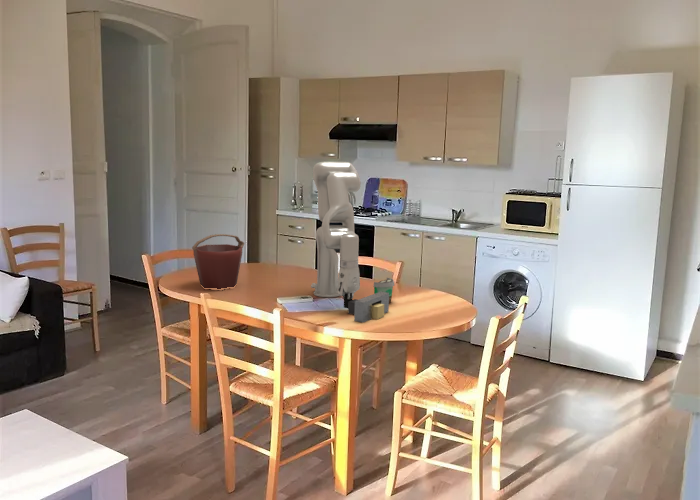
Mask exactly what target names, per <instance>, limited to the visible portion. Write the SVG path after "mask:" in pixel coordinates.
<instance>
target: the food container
mask: <svg viewBox="0 0 700 500" xmlns="http://www.w3.org/2000/svg"><path fill="white" fill-rule="evenodd" d="M372 286H373V288H374V289H373V294H375V293H378V292H387V293H389V305H390V304H392V298H393V290H394V289H393V288H394V286H395V281H394V279H393V278H390V277H386V279H384V280H380V281H379V282H377V281H374V282H373V285H372Z"/></svg>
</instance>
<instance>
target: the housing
mask: <svg viewBox="0 0 700 500" xmlns="http://www.w3.org/2000/svg"><path fill="white" fill-rule="evenodd" d="M373 303H379V304H384V315H385V314H387V313H388V312H389V307H390V306H389V305H390V304H389V293H387V292H378V293H375V294H374V293H373V294H369V295H368V296H367V295H366V296H364V297H362V298H359V299H357V300H356V301H355V313H354V322H358V323H366V322H368V321H370V320H372V318H371V315H372V304H373Z"/></svg>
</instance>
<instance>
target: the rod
mask: <svg viewBox="0 0 700 500" xmlns="http://www.w3.org/2000/svg"><path fill="white" fill-rule="evenodd" d="M356 300H358V299H355V298H353V299H352V300H351V301H348V309H347V314H348V315H352V316H353V315H354V313H355V301H356ZM384 317H385V314H384V304H379V303H373V304H372V315H371V319H373V320H374V319H375V320H379V319H381V318H384Z"/></svg>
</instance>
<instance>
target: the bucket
mask: <svg viewBox="0 0 700 500" xmlns="http://www.w3.org/2000/svg"><path fill="white" fill-rule="evenodd" d="M216 237H230V238H234V239H235V241H236V242H237V243H238V244H237V245H236V244H235V245H233V244H228V243H227V244H205V245H204V244H203V245H200V244H201V243H203V242H205V241H207V240H209V239H211V238H216ZM199 245H200V246H199ZM244 245H245V242H244V241H242V240H240V238H239V236H238V235H233V234H225V233H217V234H216V233H215V234H210V235H207V236H205V237H203V238H201V239H200V240H198V241H196V242H195V243H194V244H193V246H192V247H191V248H192V250H193V257H194V263H195V267H196V272H197V276H198V281H199V285H200V284H201V285H202V286H203V287H204V288H217V289H221V288H227V287H234V286H235V285H236V284H238V278H239V274H240V268H241V262H242V256H243V248H244ZM236 286H237V285H236Z"/></svg>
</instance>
